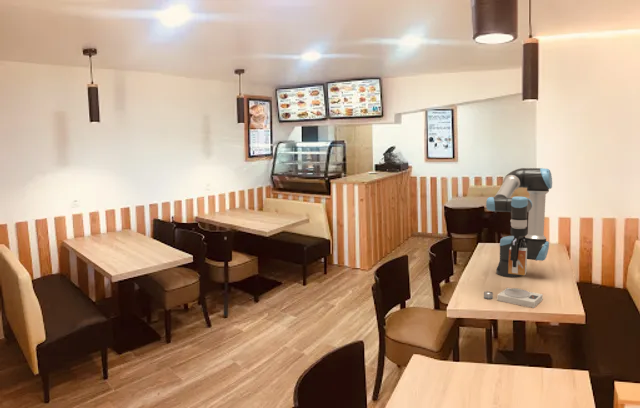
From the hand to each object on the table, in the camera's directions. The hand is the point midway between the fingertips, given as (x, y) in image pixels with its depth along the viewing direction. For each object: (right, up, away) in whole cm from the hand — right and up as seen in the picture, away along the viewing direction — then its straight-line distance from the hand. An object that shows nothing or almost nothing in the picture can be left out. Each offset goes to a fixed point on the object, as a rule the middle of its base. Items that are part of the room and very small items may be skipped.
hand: (517, 271), depth 234 cm
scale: (+2, -15, +1) cm, 15 cm away
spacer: (-13, -15, +6) cm, 21 cm away
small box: (0, -1, 0) cm, 1 cm away
